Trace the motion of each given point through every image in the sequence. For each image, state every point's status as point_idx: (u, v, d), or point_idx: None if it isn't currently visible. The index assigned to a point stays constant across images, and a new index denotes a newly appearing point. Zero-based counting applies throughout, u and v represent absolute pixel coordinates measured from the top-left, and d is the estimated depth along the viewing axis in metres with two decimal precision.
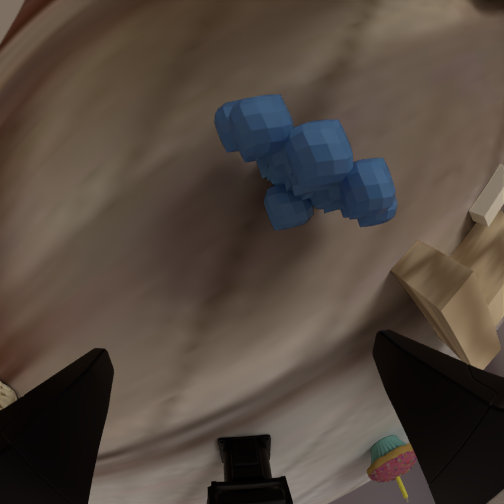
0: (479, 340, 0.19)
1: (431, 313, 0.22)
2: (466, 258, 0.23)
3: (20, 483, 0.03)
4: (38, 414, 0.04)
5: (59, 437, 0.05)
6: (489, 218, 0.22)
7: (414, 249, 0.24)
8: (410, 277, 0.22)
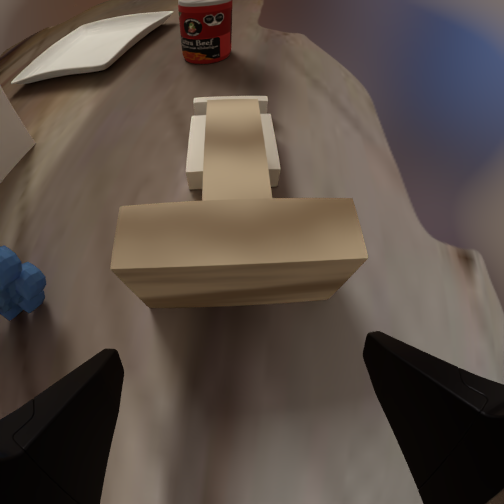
0: (262, 230, 0.16)
1: (188, 289, 0.18)
2: None
3: (33, 489, 0.03)
4: (50, 417, 0.04)
5: (71, 440, 0.05)
6: (195, 166, 0.24)
7: None
8: None
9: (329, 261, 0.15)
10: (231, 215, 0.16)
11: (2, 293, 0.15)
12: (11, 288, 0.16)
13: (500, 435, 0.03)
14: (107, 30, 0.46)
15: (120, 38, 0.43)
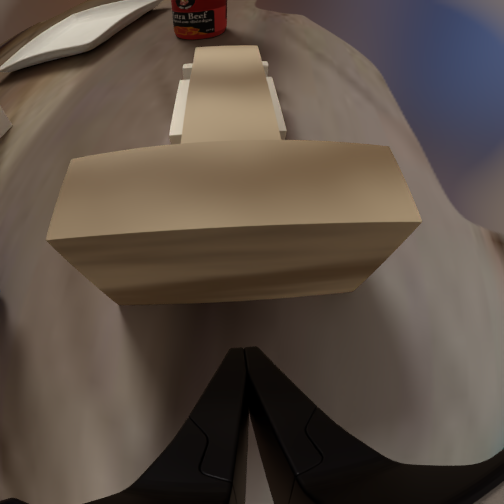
0: (268, 179, 0.10)
1: (162, 275, 0.12)
2: None
3: None
4: (234, 433, 0.05)
5: (240, 453, 0.05)
6: (181, 129, 0.19)
7: None
8: None
9: (371, 225, 0.10)
10: (222, 160, 0.10)
11: None
12: None
13: None
14: (97, 18, 0.41)
15: (110, 23, 0.38)
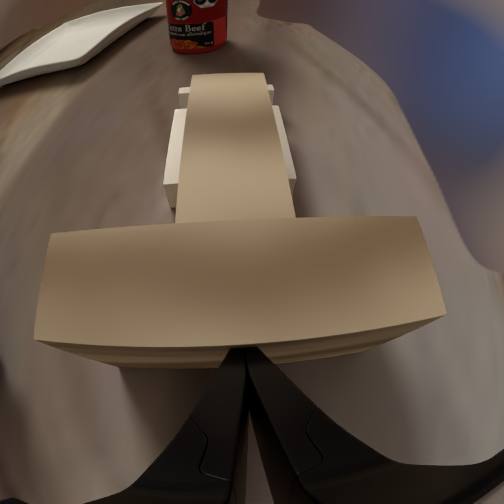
0: (281, 278, 0.09)
1: (163, 360, 0.11)
2: None
3: None
4: (234, 433, 0.05)
5: (240, 453, 0.05)
6: (177, 176, 0.17)
7: None
8: None
9: (393, 326, 0.08)
10: (225, 250, 0.09)
11: None
12: None
13: None
14: (91, 26, 0.39)
15: (103, 32, 0.36)
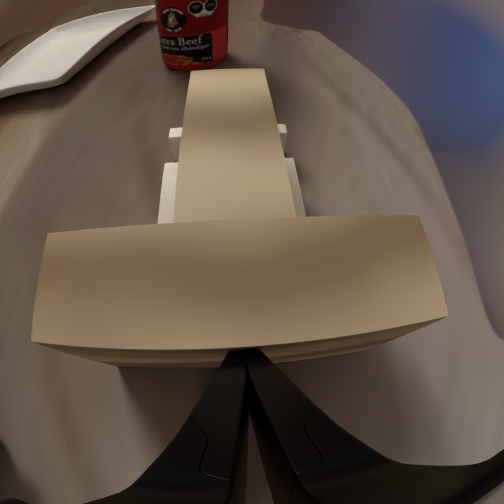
0: (281, 279, 0.09)
1: (161, 361, 0.11)
2: None
3: None
4: (234, 433, 0.05)
5: (240, 453, 0.05)
6: None
7: None
8: None
9: (394, 328, 0.08)
10: (224, 250, 0.09)
11: None
12: None
13: None
14: (79, 32, 0.36)
15: (91, 41, 0.33)
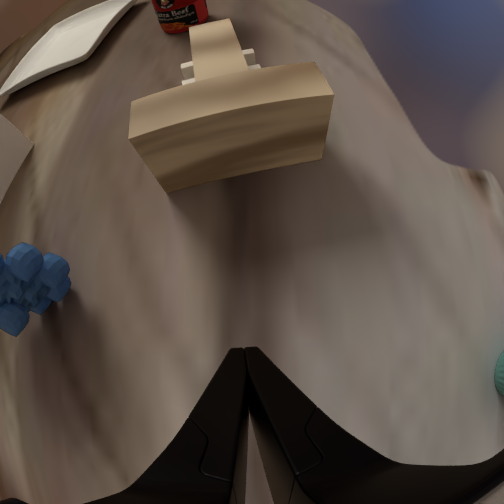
0: (244, 88, 0.18)
1: (195, 153, 0.21)
2: None
3: None
4: (234, 433, 0.05)
5: (240, 453, 0.05)
6: None
7: None
8: None
9: (301, 99, 0.17)
10: (218, 84, 0.18)
11: (28, 288, 0.17)
12: (36, 281, 0.18)
13: None
14: (80, 24, 0.41)
15: (95, 27, 0.39)
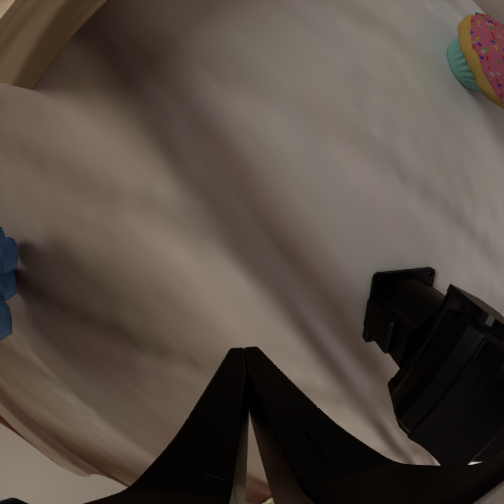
0: None
1: (31, 34, 0.10)
2: None
3: None
4: (234, 433, 0.05)
5: (240, 453, 0.05)
6: None
7: None
8: None
9: None
10: None
11: None
12: None
13: None
14: None
15: None
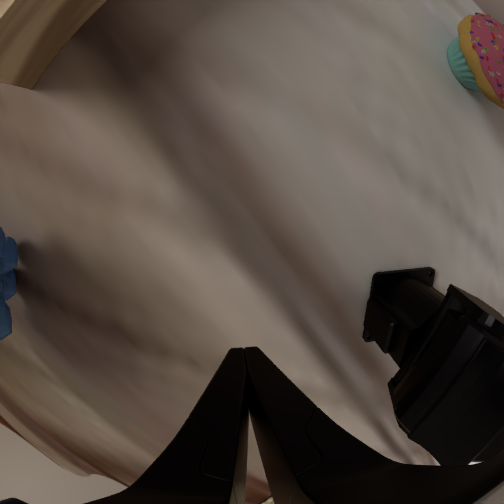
0: None
1: (31, 33, 0.10)
2: None
3: None
4: (234, 433, 0.05)
5: (241, 453, 0.05)
6: None
7: None
8: None
9: None
10: None
11: None
12: None
13: None
14: None
15: None
